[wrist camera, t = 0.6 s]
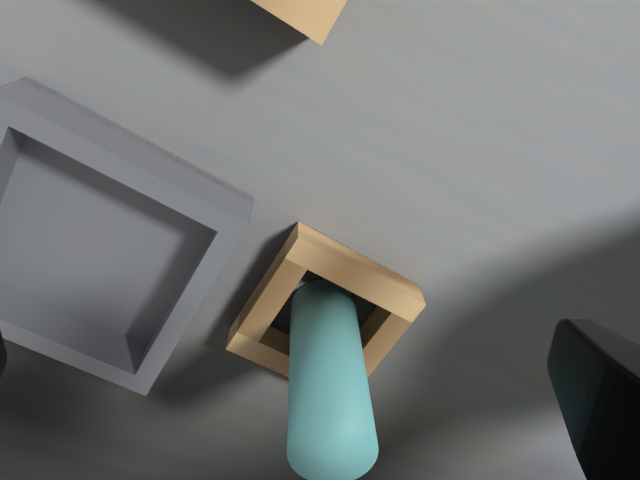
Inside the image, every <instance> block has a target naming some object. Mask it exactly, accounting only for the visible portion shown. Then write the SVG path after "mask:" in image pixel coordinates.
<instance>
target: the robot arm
mask: <svg viewBox="0 0 640 480" xmlns="http://www.w3.org/2000/svg"><path fill="white" fill-rule="evenodd" d="M6 362H7V352H6V348H5V344H4V341H3V337H2V334H1V330H0V378H1V376H2V374H3V371H4V369H5V366H6ZM547 366H548V373H549V376H550V379H551V382H552V385H553V388H554V391H555V394H556V397H557V400H558V403H559V406H560V409H561V412H562V415H563V418H564V421H565V424H566V427H567V430H568V433H569V436H570V439H571V442H572V445H573V448H574V450H575V453H576V456H577V458H578V461H579V463H580V465H581V468H582V470H583V472H584V474H585V477H586V479H587V480H640V345H638V344H636V343H634V342H632V341H630V340H628V339H627V338H625V337H623V336H621V335H619V334H617V333H615V332H613V331H611V330H609V329H608V328H606V327H604V326H602V325H600V324H598V323H596V322H594V321H592V320H590V319H588V318H584V317H564V318H562V319H560V320H559V321H558V323H557V325H556V328H555V332H554V336H553V340H552V344H551V348H550V351H549V355H548V361H547Z"/></svg>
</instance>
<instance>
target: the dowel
mask: <svg viewBox="0 0 640 480" xmlns="http://www.w3.org/2000/svg"><path fill="white" fill-rule="evenodd" d="M378 452H379V447H378V441H377V435H376V429H375V423H374V417H373V411H372V404H371V398H370V392H369V386H368V380H367V374H366V368H365V362H364V355H363V349H362V343H361V337H360V331H359V325H358V319H357V313H356V306H355V301H354V297H353V295H352V293H351V292H350V291H349V290H347V289H345V288H343V287H341V286H339V285H337V284H335V283H333V282H331V281H329V280H327V279H321V280H315V281H311V282H309V283H307V284H305V285H303V286H302V287H301V288H300V289H299V290H298V291H297V292H296V293H295V295H294V296H293V299H292V302H291V322H290V357H289V391H288V425H287V458H288V462H289V464H290V466H291V467H292V469H293V470H294V471H295V472H296V473H297V474H299V475H300V476H301V477H303V478H305V479H307V480H355V479H357V478H359V477H361V476H362V475H364V474H365V473H366V472H368V471H369V470H370V469H371V468H372V466H373V465H374V463H375V462H376V459H377V457H378Z"/></svg>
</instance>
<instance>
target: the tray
mask: <svg viewBox="0 0 640 480" xmlns="http://www.w3.org/2000/svg"><path fill="white" fill-rule="evenodd" d="M253 201H254V198H253V197H251V196H250V195H248V194H246V193H244V192H242V191H240V190H238V189H236V188H235V187H233V186H231V185H229V184H227V183H225V182H223V181H221V180H220V179H218V178H216V177H214V176H212V175H210V174H208V173H206V172H205V171H203V170H201V169H199V168H197V167H195V166H193V165H191V164H190V163H188V162H186V161H184V160H182V159H180V158H178V157H176V156H175V155H173V154H171V153H169V152H167V151H165V150H163V149H161V148H160V147H158V146H156V145H154V144H152V143H150V142H148V141H146V140H145V139H143V138H141V137H139V136H137V135H135V134H133V133H131V132H130V131H128V130H126V129H124V128H122V127H120V126H118V125H116V124H115V123H113V122H111V121H109V120H107V119H105V118H103V117H101V116H100V115H98V114H96V113H94V112H92V111H90V110H88V109H86V108H85V107H83V106H81V105H79V104H77V103H75V102H73V101H71V100H70V99H68V98H66V97H64V96H62V95H60V94H58V93H56V92H55V91H53V90H51V89H49V88H47V87H45V86H43V85H41V84H40V83H38V82H36V81H34V80H32V79H30V78H28V77H25V78H22V79H19V80H17V81H14V82H12V83H9V84H7V85H4V86H1V87H0V330H1V334H2V337H3V338H4V339H6V340H9V341H11V342H14V343H16V344H19V345H21V346H23V347H26V348H28V349H31V350H33V351H36V352H38V353H41V354H43V355H46V356H48V357H51V358H53V359H56V360H58V361H60V362H63V363H65V364H68V365H70V366H73V367H75V368H78V369H80V370H83V371H85V372H88V373H90V374H92V375H95V376H97V377H100V378H102V379H105V380H107V381H110V382H112V383H115V384H117V385H120V386H122V387H125V388H127V389H129V390H132V391H134V392H137V393H139V394H142V395H144V396H146V395H147V393H148V392H149V390H150V388H151V387H152V385H153V383H154V382H155V380H156V378H157V377H158V375H159V373H160V372H161V370H162V368H163V367H164V365H165V363H166V362H167V360H168V358H169V357H170V355H171V353H172V352H173V350H174V348H175V347H176V345H177V343H178V342H179V340H180V338H181V337H182V335H183V333H184V332H185V330H186V328H187V327H188V325H189V323H190V322H191V320H192V318H193V317H194V315H195V313H196V312H197V310H198V308H199V307H200V305H201V303H202V302H203V300H204V298H205V297H206V295H207V293H208V292H209V290H210V288H211V287H212V285H213V283H214V282H215V280H216V278H217V277H218V275H219V273H220V272H221V270H222V268H223V267H224V265H225V263H226V262H227V260H228V258H229V257H230V255H231V253H232V252H233V250H234V248H235V247H236V245H237V243H238V242H239V240H240V238H241V237H242V235H243V233H244V232H245V230H246V228H247V227H248V225H249V221H250V216H251V211H252V206H253Z"/></svg>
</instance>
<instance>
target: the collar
mask: <svg viewBox="0 0 640 480" xmlns="http://www.w3.org/2000/svg"><path fill="white" fill-rule="evenodd" d="M307 270H309V271H311V272H313V273H315V274H317V275H319V276H321V277H323V278H325V279H327V280H329V281H331V282H333V283H335V284H337V285H339V286H341V287H343V288H345V289H347V290H349V291H351V292H353V293H354V294H356V295H358V296H360V297H362V298H364V299H366V300H368V301H370V302H372V303H374V304H376V305H377V307H376V308H375V309H374V310H373V312H372V313H371V314H370V316H369V317H368V318H367V320H366V321H365V322H364V324H363V325H362V326H361V328H360V329H359V331H360V337H361V343H362V349H363V355H364V362H365V368H366V374H367V378H368V377H369V375H370V374H371V373H372V372H373V370H374V369H375V368H376V367H377V365H378V364H379V363H380V362H381V361H382V359H383V358H384V357H385V356H386V354H387V353H388V352H389V351H390V349H391V348H392V347H393V346H394V344H395V343H396V342H397V341H398V339H399V338H400V337H401V336H402V334H403V333H404V332H405V331H406V329H407V328H408V327H409V326H410V325H411V323H412V322H413V321H414V320H415V318H416V317H417V316H418V315H419V313H420V312H421V311H422V310H423V308H424V307H425V306H426V303H425V300H424V298H423V295H422V293H421V290H420V287H419V286H418V285H416V284H415V283H413V282H411V281H409V280H407V279H405V278H403V277H401V276H400V275H398V274H396V273H394V272H392V271H390V270H388V269H386V268H385V267H383V266H381V265H379V264H377V263H375V262H373V261H371V260H370V259H368V258H366V257H364V256H362V255H360V254H358V253H356V252H355V251H353V250H351V249H349V248H347V247H345V246H343V245H341V244H340V243H338V242H336V241H334V240H332V239H330V238H328V237H326V236H325V235H323V234H321V233H319V232H317V231H315V230H313V229H311V228H310V227H308V226H306V225H304V224H302V223H300V222H298V223H297V224H296V226H295V227H294V229H293V230H292V232H291V234H290V235H289V237H288V238H287V240H286V241H285V243H284V244H283V246H282V248H281V249H280V251H279V252H278V254H277V255H276V257H275V259H274V260H273V262H272V263H271V265H270V266H269V268H268V269H267V271H266V273H265V274H264V276H263V277H262V279H261V280H260V282H259V283H258V285H257V287H256V288H255V290H254V291H253V293H252V294H251V296H250V298H249V299H248V301H247V302H246V304H245V305H244V307H243V308H242V310H241V312H240V313H239V315H238V316H237V318H236V319H235V321H234V323H233V324H232V326H231V327H230V330H229V335H228V340H227V345H226V350H228V351H230V352H233V353H235V354H237V355H239V356H242V357H244V358H246V359H248V360H250V361H253V362H255V363H257V364H259V365H262V366H264V367H266V368H268V369H271V370H273V371H275V372H277V373H280V374H282V375H284V376H286V377H289V357H290V335H289V334H286V333H284V332H282V331H280V330H278V329H276V328H274V327H272V326H270V324H271V323H272V321H273V320H274V318H275V317H276V315H277V314H278V312H279V311H280V309H281V308H282V306H283V305H284V303H285V302H286V300H287V299H288V297H289V296H290V294H291V293H292V292H293V290H294V289H295V287H296V286H297V284H298V283H299V281H300V280H301V278H302V277H303V275H304V274H305V272H306V271H307Z"/></svg>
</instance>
